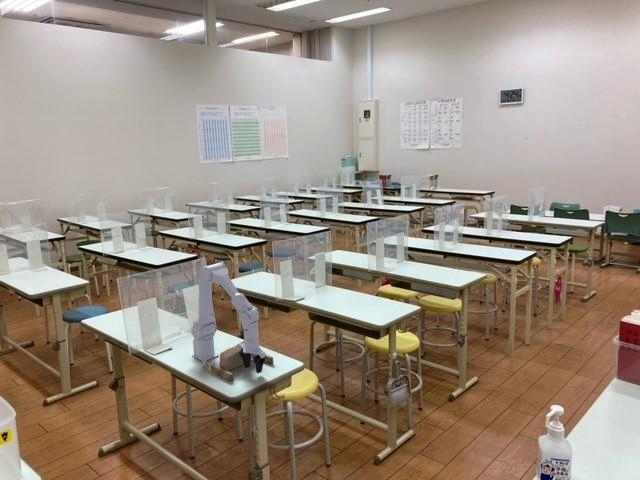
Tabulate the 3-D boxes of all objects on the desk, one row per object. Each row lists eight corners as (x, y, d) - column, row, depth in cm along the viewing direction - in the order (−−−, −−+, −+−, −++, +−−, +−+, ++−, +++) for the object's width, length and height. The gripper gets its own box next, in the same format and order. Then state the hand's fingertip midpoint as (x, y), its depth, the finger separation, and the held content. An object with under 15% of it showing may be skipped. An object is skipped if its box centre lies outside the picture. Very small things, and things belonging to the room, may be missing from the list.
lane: (203, 367, 208) (202, 360, 207) (244, 351, 223) (244, 345, 222) (231, 382, 194) (230, 374, 194) (273, 364, 209) (273, 357, 209)
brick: (225, 357, 199) (218, 351, 201) (224, 374, 202) (217, 368, 205) (257, 342, 211) (249, 336, 213) (255, 358, 214) (248, 352, 217)
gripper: (232, 336, 201) (234, 367, 203) (254, 345, 191) (256, 378, 193) (246, 331, 206) (248, 362, 208) (268, 340, 196) (270, 372, 198)
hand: (253, 369), depth 201 cm, fingers open, 7 cm apart
